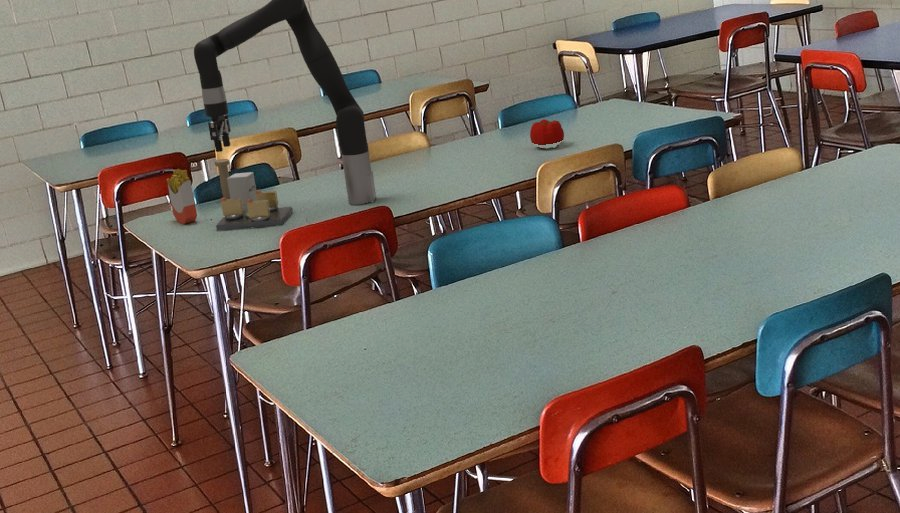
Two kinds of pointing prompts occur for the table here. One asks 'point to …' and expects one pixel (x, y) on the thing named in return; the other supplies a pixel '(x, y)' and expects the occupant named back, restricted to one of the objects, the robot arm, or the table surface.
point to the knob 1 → (232, 208)
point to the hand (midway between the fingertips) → (223, 149)
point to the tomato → (546, 132)
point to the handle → (223, 176)
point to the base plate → (245, 222)
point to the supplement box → (242, 187)
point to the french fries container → (182, 197)
